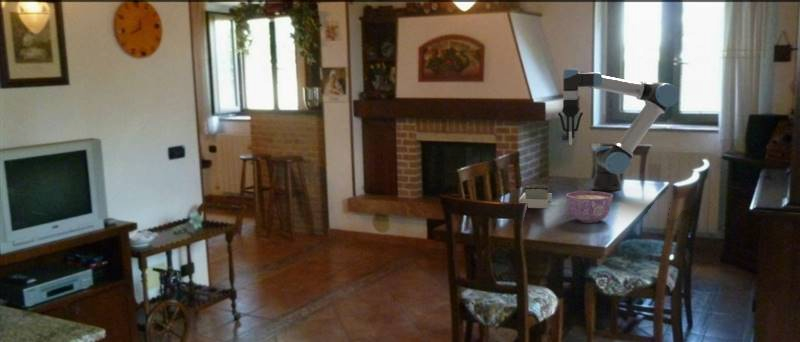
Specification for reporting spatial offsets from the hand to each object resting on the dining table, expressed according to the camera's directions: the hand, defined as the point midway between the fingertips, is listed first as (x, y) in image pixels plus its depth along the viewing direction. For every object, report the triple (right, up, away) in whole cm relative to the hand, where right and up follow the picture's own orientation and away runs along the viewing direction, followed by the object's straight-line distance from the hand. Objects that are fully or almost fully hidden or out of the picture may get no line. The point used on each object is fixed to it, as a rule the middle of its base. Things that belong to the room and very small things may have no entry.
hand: (570, 144), depth 389 cm
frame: (-21, -30, -20) cm, 42 cm away
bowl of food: (-5, -36, -60) cm, 70 cm away
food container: (-22, -31, -23) cm, 44 cm away
